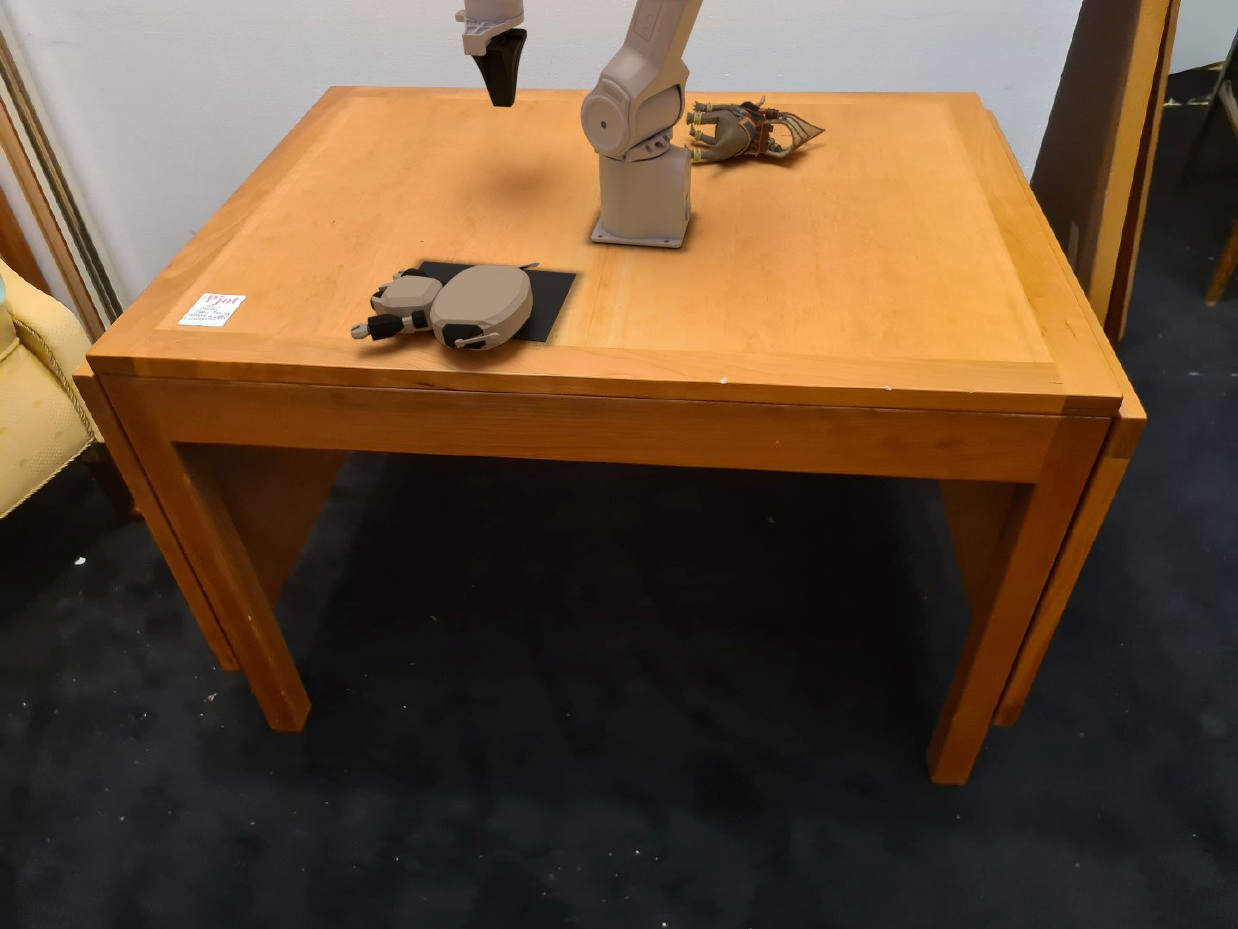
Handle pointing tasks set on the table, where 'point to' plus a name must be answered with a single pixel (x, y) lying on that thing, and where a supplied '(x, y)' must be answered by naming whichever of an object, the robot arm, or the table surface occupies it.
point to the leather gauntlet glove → (745, 130)
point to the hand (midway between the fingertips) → (503, 104)
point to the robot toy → (453, 306)
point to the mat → (545, 292)
